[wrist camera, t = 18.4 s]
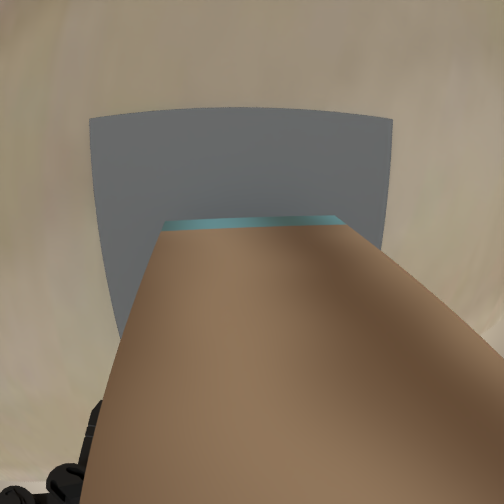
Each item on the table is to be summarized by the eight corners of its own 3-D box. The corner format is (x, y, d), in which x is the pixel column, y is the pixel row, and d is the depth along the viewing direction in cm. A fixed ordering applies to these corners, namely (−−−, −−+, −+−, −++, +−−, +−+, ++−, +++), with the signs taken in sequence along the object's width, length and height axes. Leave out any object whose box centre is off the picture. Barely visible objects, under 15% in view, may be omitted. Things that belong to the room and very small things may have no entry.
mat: (389, 119, 16) (392, 119, 16) (357, 353, 22) (359, 356, 22) (92, 118, 14) (89, 118, 14) (131, 370, 20) (130, 374, 20)
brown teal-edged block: (193, 615, 5) (69, 584, 1) (185, 383, 18) (165, 221, 14) (401, 575, 6) (576, 439, 2) (315, 372, 19) (334, 215, 15)
